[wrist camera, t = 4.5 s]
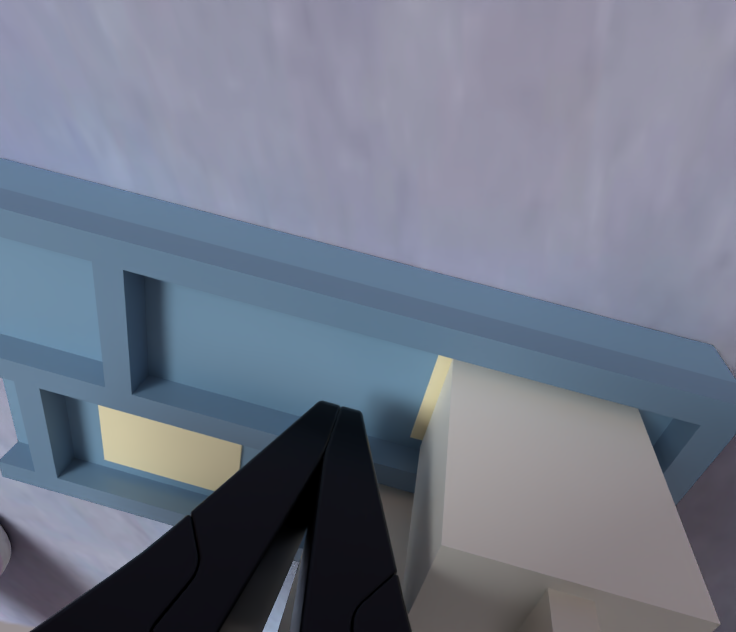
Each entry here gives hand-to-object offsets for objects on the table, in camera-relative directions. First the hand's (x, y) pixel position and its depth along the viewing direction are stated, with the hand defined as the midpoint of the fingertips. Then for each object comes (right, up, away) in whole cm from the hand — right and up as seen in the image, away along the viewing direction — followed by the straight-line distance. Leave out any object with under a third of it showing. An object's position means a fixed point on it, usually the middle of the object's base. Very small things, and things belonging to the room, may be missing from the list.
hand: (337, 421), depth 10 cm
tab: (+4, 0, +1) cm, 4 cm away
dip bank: (-1, 0, +3) cm, 3 cm away
